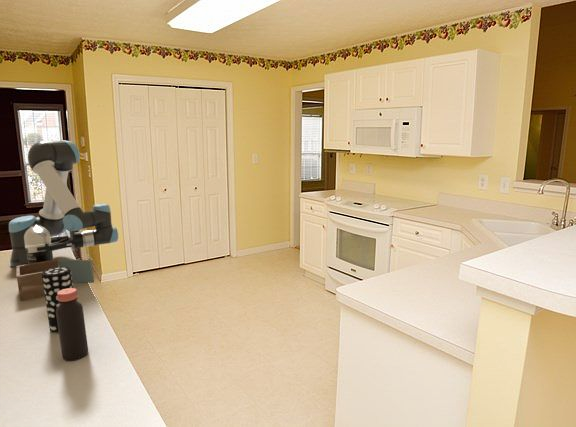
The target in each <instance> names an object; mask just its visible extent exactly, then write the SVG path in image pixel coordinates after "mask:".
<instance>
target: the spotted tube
mask: <svg viewBox="0 0 576 427" xmlns="http://www.w3.org/2000/svg"><path fill="white" fill-rule="evenodd" d="M42 280H43V287H44V293H45V296H44V298H45V305H46V312H47V319H48V325H49V327H48V328H49V331H50V332H51V333H53V334H59V330H58V324H57V317H56V309H57V307H58V306H59V305H60V303H59V302H58V296H57V292H59V291H60V290H63V289H67V288H74V282H72V275H71V268H70V267H60V266H58V267H55V268H50V269H47V270H45V271H43V272H42Z"/></svg>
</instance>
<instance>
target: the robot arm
mask: <svg viewBox="0 0 576 427" xmlns="http://www.w3.org/2000/svg"><path fill="white" fill-rule="evenodd" d="M80 158H81V155H80V151H79V148H78V146H77V145H76V144H75V142H72V141H70V140H64V139H63V140H47V141H46V140H43V141H42V140H40V141H38V142H35V143H33V144H32V145H31V147H30V148H29V150H28V153H27V162H28V165H29V167H30V169H31V171H32V173H34V174H36V175H38V177H39V179H40V181H41V182H42V183H43V185H44V187H45V192H44V193H45V194H44V199H43V200H44V201H43V206H42V207H43V208H41V209H40V210H39V211H38V216H34V215H25V216H24V215H23V216H20V217H19V216H18V217H16V218H14V219H12V220H10V221H9V223H8V232H9V237H10V242H11V249H12V251H11V254H10V259H9V263H10V266H11V267H12V268H16V266H20V265H26V264H28V260H27V254H26V248H25V241H24V235H25V233H26V231H27V230H28V229H29V228H30V227H31V226H32V225H34V224H38V225H40V226H42V227H44V228H45V229H47V230H48V231H49V233H50V238H51V243H52V244H46V243H45V244H44V245H38V246H31V247H27V248H28V253H34V252H40V251H48V252H50V251H52V252H54V251H58V250H62V249H67V248H72V247H74V248H75V249H80V248H84V247H85V248H86V247H89V248H91V247H93V246H97V245H98V246H101V245H106V244H107V245H108V244H112V243H116V242H118V241H119V232H118V228H117V227H115V226H113V224H112V212H111V207H110V205H109V204H108V203H97V204H94V205H93V206H92V210H87V211H84V210H82V208H81V206H80V205H79V203H78V202H77V200H76V199H75V197H74V195H73V194H72V192H71V191H70V189H69V188H68V186H67V182H68V176H69V172H71V171H72V170H73V167H74V165H75V164H78V163H79V162H80ZM92 227H94V228H95V229H89V230H84V229H88V228H92ZM80 230H82V231H80ZM66 231H68V232H72V236H69V235H63V236H59V235H62V234H64V233H65V232H66Z"/></svg>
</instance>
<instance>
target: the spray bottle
mask: <svg viewBox="0 0 576 427" xmlns="http://www.w3.org/2000/svg"><path fill="white" fill-rule="evenodd" d="M24 241H25V248H26V254H27V260H28V264H32V263H38V262H44V261H50V260H54V254H53V251H50V252H48V251H40V252H34V253H28V248H27V247H31V246H38V245H44V244H45V243H46V244H52V243H51V238H50V233H49V231H48V230H47V229H45V228H44V227H42V226H40V225H38V224H34V225H32V226H31V227H30V228H29V229H28V230H27V231H26V233H25V235H24Z"/></svg>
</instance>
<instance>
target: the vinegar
mask: <svg viewBox="0 0 576 427" xmlns="http://www.w3.org/2000/svg"><path fill="white" fill-rule="evenodd" d="M77 290H78V289H77V288H75V287H73V288H67V289H63V290H60V291H59V292H57V296H58V302H59V303H60V305H59V306H58V307H57V309H56V317H57V324H58V330H59V333H58V337H59V344H60V351H61V357H62V359H63V360H64V361H68V362H74V361H77V360H80V359H83V358H84V357H86V356H87V355H88V352H89V346H88V337H87V330H86V323H85V322H86V321H85V314H84V307H83V304H82V303H81V302H79V301H78V291H77Z"/></svg>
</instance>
